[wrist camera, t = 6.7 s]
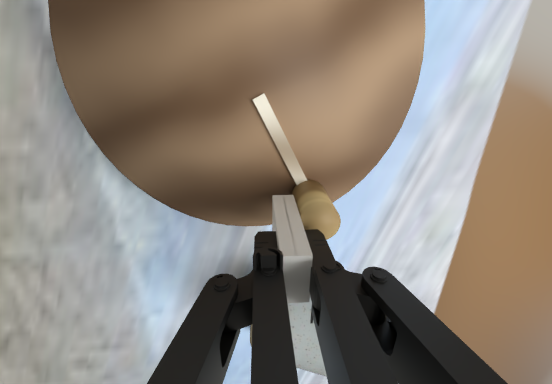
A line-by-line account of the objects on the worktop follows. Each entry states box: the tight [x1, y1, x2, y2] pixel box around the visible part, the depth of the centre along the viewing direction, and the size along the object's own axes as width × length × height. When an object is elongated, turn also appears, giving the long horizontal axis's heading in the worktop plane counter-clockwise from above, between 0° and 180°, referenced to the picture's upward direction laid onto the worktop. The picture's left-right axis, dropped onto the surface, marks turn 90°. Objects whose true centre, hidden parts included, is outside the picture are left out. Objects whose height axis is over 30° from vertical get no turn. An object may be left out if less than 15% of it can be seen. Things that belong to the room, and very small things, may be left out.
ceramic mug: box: [250, 297, 327, 376], centre depth 24 cm, size 11×8×8 cm
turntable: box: [48, 0, 425, 240], centre depth 14 cm, size 21×21×6 cm
